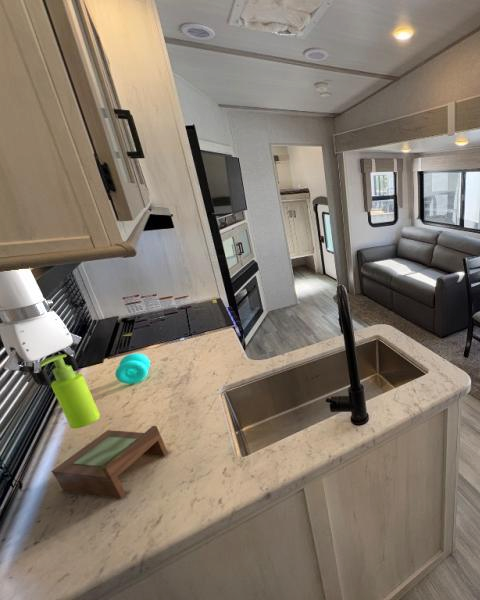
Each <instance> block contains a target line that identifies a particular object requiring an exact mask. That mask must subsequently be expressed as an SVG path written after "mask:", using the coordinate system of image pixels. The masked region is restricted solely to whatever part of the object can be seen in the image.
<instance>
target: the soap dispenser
mask: <svg viewBox="0 0 480 600" xmlns="http://www.w3.org/2000/svg"><path fill="white" fill-rule="evenodd" d="M63 357H66V354H59V353H58V354H56V355H53V356H52V355H51V356H50V357H47V358H45V359H43V360H40V362H41V368H42V367H44V366H47V364H49V363H52V362H53V364H54V366H55V367H54V368H53V369H52V374H53V376H54V378H55V380H54V381H52V383H51V384H50V387H51V389H52V392H53V393H54V395H55V397H56V399H57V402H58V404H59V406H60V408H61V410H62V412H63V414H64V416H65V418H66V420H67V422H68V425H69V426H70V428H71V429H80V428H85V427H86V426H90V425H91V424H93V423H94V422H97V421H98V419H100V417H101V414H100V411H99V409H98V407H97V404H96V402H95V400H94V397H93V396H92V393H91V391H90V388H89V386H88V384H87V381H86V379H85V377H84V375H83V373H75V371H73V368H72V366H71V365H67V364H65V362H64V360H63Z"/></svg>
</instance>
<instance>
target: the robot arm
mask: <svg viewBox="0 0 480 600" xmlns="http://www.w3.org/2000/svg"><path fill="white" fill-rule="evenodd" d="M53 304H54V302H53V300H51V299H46V298H45V297H44V295H43V293H42V291H41V288H40V287H39V285H38V282H37V280H36V279H35V277H34V275H33V273H32V270H31V268H30V269H19V270H11V271H4V272H0V319H1V321H2V322H1V323H0V339H1V342H2V344H3V347H4V349H5V352H6V353H7V355H8V358H7V360H6V362H5V365H4V366H3V369H4V370H5V371H6V370H7V371H18V372H23V373H29V374H30V376H31V377H32V379H33V382H34V383H35V384H36V385H38V386H51V383H53V381H52V380H51V378H50V377H49V375H48V373H47V371H46V370H45V369H42V367H41V359H44V358H46V357H48V356H50V355H51V356H52V355H53V354H55V353H58V355H59V354H66V357H63V360H64V362H65V364H67V365H71V366H72V368H73V371H74V372H77V371H79V365H78V362H77V361H76V358H75V356H76V351H77V348H78V345H79V344H80V342H81V340H82V337H81V336H79V335H77V334H74V333H71V332H70V331H69V329H68V327H67V326H66V324H65V323H64V322H63V319H61V317H60V316H59V315H58V314H57V313H56V311H54V310H51V307H50V306H52V305H53ZM23 361H24V364H23V365H21V364H19V362H23Z"/></svg>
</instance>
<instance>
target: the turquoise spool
mask: <svg viewBox="0 0 480 600" xmlns="http://www.w3.org/2000/svg"><path fill="white" fill-rule="evenodd" d="M150 367H151V360H150V359H149V358H148V356H147V355H145V354H143V353H131V354H130V353H129V354H127V355H126V356H124V357H122V359H121V360H120V362H119V363H118V366H117V368H116V370H115V375H114V376H115V378H116V380H117V381H119V383H122V384H126V385H133V384H138V383H140V382H141V381H144V379H145V378H146V377H147V375H148V372H149V368H150Z"/></svg>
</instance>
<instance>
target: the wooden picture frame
mask: <svg viewBox="0 0 480 600" xmlns="http://www.w3.org/2000/svg"><path fill="white" fill-rule="evenodd" d="M164 442H165V441H164V440H163V438H162V436H161V433H160V431H159V429H158V426H157V425H152V426H151V427H150V428H148V429H147V430H146V431H144V432H135V431H123V430H113V429H107V430H106V431H104V432H103V433H102V434H100V435H99V436H97V437H96V438H95V439H94V440H92V441H91V442H89V443H87V444H86V445H85V446H84V447H82V448H81V449H80V450H78V451H77V452H75V453H74V454H72V456H70V457H69V458H67V459H66V460H65V461H63V462H61V464H59V465H57V466H56V467H55V468H53V469H52V470H51V473H52V474H53V476H54V478H55V480H56V481H57V483H58V484H59V486H60V487H61V490H62V491H63V492H67V493H76V494H84V495H90V496H91V495H93V496H100V497H107V498H117V499H122V498H123V497H124V496H126V494H127V493H126V491H125V489H124V487H123V485H122V484H121V481H120V480H119V478H118V476H120V475H121V474H122V473H123V472H124V471H125V470H126V469H128V468H129V467H130V466H131V465H132V464H133V463H134V462H135V461H136V460H138V459H139V458H140V457H141V456H142V455H146V456H155V457H166V456H167V455H168V454H169V452H168V450H167V447H166V445H165V443H164Z"/></svg>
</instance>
